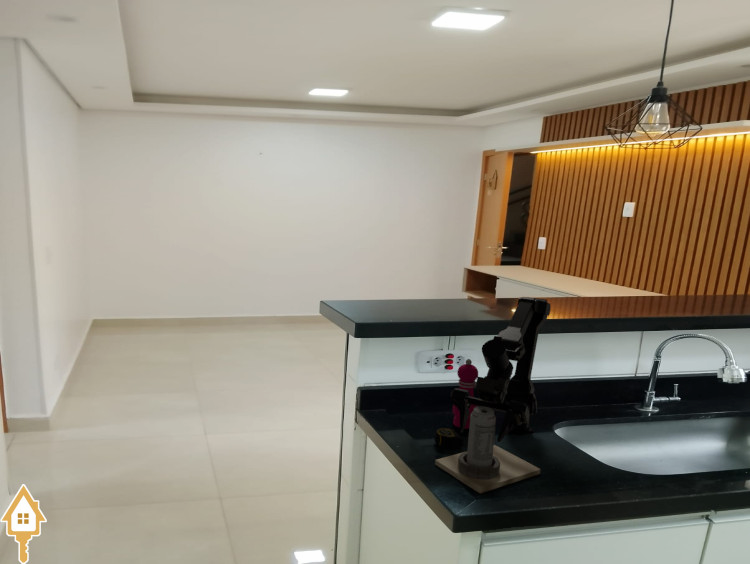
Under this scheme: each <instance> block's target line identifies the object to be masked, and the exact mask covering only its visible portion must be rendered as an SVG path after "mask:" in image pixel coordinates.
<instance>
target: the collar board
mask: <svg viewBox="0 0 750 564" xmlns="http://www.w3.org/2000/svg"><path fill="white" fill-rule="evenodd" d="M434 462H435V463H434V465H436V466H437V467H438V468H440V469H441V470H442V471H445V472H446V473H448V474H450V475H451V476H453V478H455V479H457V480H458V481H460V482H462V483H463V484H464V485H466V486H468V488H469V487H470V488H471V489H472V490H474V491H475V492H477V493H479V494H483V493H485V492H489V491H492V490H495V489H498V488H501V487H504V486H507V485H510V484H513V483H517V482H519V481H522V480H526V479H529V478H532V477H534V476H538V475H541V468H539V467H537V466H536V465H533V464H532V463H529V462H528V461H526V460H524V459H521V458H520V457H519V456H517V455H514V454H512V453H511V452H509V451H508V450H505V449H503V448H501V447H499V446H497V445H495V444H494V448H493V459H492V466H490V467H476V466H472V465H469V464H468V463H467V451H464V452H460V453H456V454H453V455H452V454H451V455H449V456H445V457H441V458H438V459H435V461H434Z"/></svg>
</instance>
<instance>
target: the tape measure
mask: <svg viewBox="0 0 750 564" xmlns="http://www.w3.org/2000/svg"><path fill="white" fill-rule="evenodd" d="M433 438H434V442H435V444H436V445H438V446H439V447H441V448H444V449H453V448H458V447H462V446H463V445H464V438H463V436H462V435H460V434H459V433H458V432H457V431H456V430H454V429H453V428H451V427H450V428H444V427H443V428H438V429H437V430H436V431H435V433H434V437H433Z"/></svg>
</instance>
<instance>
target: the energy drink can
mask: <svg viewBox="0 0 750 564" xmlns="http://www.w3.org/2000/svg"><path fill="white" fill-rule="evenodd" d="M473 410H474V411H473V412H472V413H471V415H470V427H469V429H468V430H469V431H468V441H467V451H466V452H467V463H468V464H469V465H472V466H476V467H490V466H492V459H493V448H494V445H495V437H496V435H495V434H496V426H497V425H496V423H497V417H496V414H495V410H493V409H491V408H488V407H483V406H477V407H475V408H474V409H473Z"/></svg>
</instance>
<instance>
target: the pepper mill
mask: <svg viewBox="0 0 750 564" xmlns="http://www.w3.org/2000/svg"><path fill="white" fill-rule="evenodd" d="M456 373H457V377H458V378H459V379H458V383H457V384H458V386H459V389H463V390H468V391H469V393H470V396H471V397H475V396H474V395H475V394H474V390H475V387H476V382H477V377H479V370H478V368H477V366H475V365H474V364H472V360H471V359H470V358H468V359H466V360H465V363H463V364H461V365H460V366H459V367H458V369H457V372H456ZM475 407H478V406H475V405H471V407H470V408H469V411H470V413H469V416H468V419H467V422H466V426H465V429H464V430H469V427H470V415H471V413H472V412H473V411H474V410H473V409H474V408H475ZM452 414H453V415H454V417H453V425H454V427H456V428H458V427H459V429H460V412H459V410H458V408H457V407H456V406H454V405H453V406H452Z"/></svg>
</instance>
